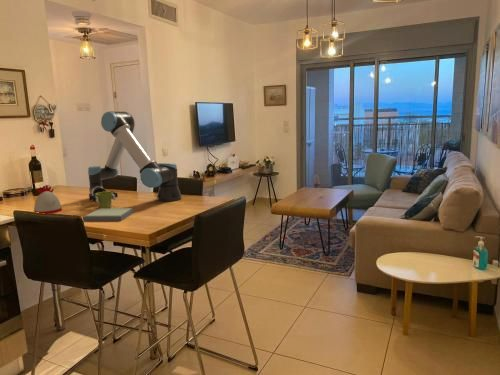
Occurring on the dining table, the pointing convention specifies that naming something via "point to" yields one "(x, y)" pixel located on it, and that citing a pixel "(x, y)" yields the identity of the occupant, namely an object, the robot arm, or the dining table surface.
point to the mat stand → (109, 214)
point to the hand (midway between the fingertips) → (106, 198)
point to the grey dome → (47, 202)
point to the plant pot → (104, 199)
